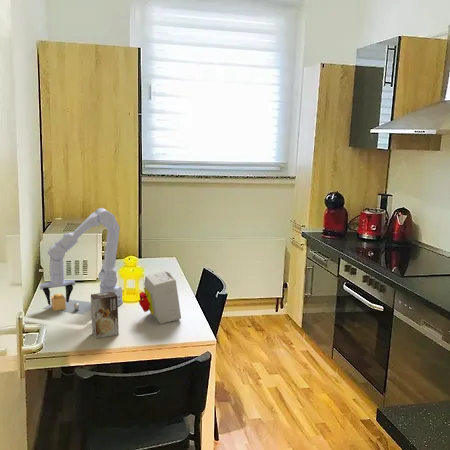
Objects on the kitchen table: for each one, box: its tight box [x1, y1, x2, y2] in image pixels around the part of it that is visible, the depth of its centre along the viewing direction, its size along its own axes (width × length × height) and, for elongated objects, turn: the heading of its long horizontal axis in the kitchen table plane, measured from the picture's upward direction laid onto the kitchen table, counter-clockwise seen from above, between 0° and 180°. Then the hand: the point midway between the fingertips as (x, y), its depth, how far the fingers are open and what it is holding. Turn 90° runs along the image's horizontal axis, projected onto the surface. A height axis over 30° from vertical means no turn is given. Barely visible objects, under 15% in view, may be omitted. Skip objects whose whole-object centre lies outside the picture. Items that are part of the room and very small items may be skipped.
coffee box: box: [90, 292, 120, 339], centre depth 193 cm, size 9×6×16 cm
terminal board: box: [42, 298, 91, 315], centre depth 219 cm, size 20×14×2 cm
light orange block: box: [50, 293, 66, 312], centre depth 216 cm, size 5×5×6 cm
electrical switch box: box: [138, 270, 182, 325], centre depth 210 cm, size 15×15×20 cm
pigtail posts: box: [74, 303, 79, 311], centre depth 215 cm, size 11×2×3 cm, turn 74°
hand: (58, 302), depth 216 cm, fingers open, 7 cm apart
